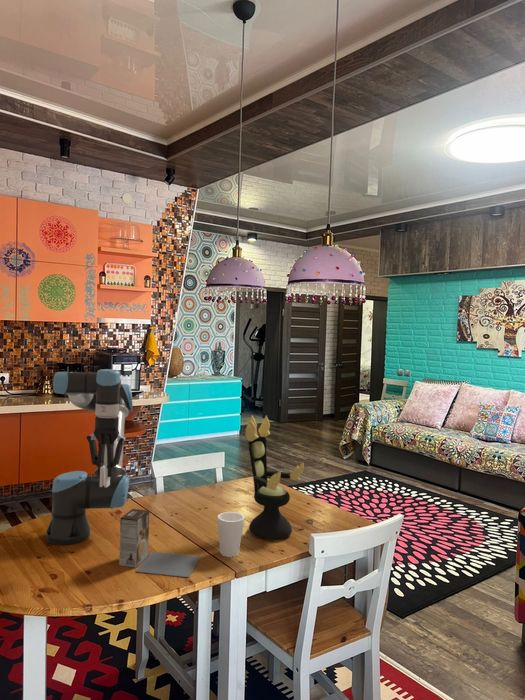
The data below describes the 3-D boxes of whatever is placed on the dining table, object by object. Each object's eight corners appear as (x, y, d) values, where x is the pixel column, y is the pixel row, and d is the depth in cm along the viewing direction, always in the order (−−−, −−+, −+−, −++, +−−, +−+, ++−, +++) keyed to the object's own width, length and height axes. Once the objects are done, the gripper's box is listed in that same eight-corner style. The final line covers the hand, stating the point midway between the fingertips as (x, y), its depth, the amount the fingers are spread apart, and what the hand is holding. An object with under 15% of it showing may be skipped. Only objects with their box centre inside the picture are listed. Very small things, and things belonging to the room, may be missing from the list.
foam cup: (210, 552, 183) (212, 515, 182) (230, 545, 189) (232, 510, 188) (228, 561, 176) (229, 523, 175) (248, 554, 182) (249, 517, 182)
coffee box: (131, 553, 178) (132, 507, 178) (148, 556, 177) (150, 510, 176) (118, 565, 169) (120, 517, 169) (136, 568, 168) (138, 519, 167)
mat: (135, 572, 165) (135, 571, 165) (151, 552, 180) (151, 551, 180) (189, 577, 163) (189, 577, 163) (200, 557, 178) (200, 556, 178)
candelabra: (277, 547, 189) (282, 424, 187) (227, 532, 201) (232, 416, 199) (301, 531, 205) (307, 418, 203) (254, 518, 217) (259, 411, 215)
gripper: (81, 416, 170) (79, 487, 171) (122, 419, 168) (120, 491, 169) (92, 412, 177) (89, 481, 178) (131, 415, 175) (129, 484, 176)
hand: (104, 485), depth 174 cm, fingers closed
